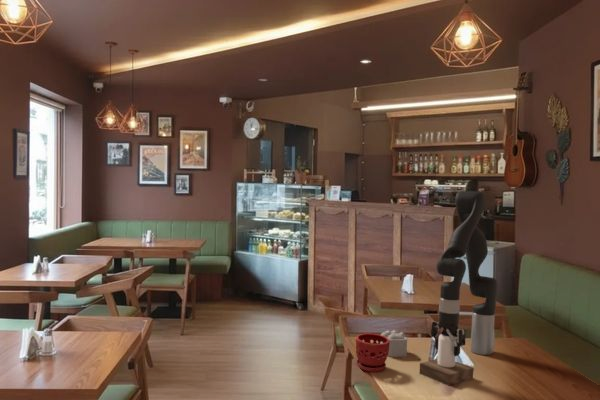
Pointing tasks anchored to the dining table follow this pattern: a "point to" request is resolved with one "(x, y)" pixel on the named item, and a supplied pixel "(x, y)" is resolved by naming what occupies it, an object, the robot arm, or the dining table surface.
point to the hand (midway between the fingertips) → (447, 352)
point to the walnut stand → (446, 372)
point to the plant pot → (371, 352)
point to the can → (446, 352)
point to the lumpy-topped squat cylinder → (396, 343)
